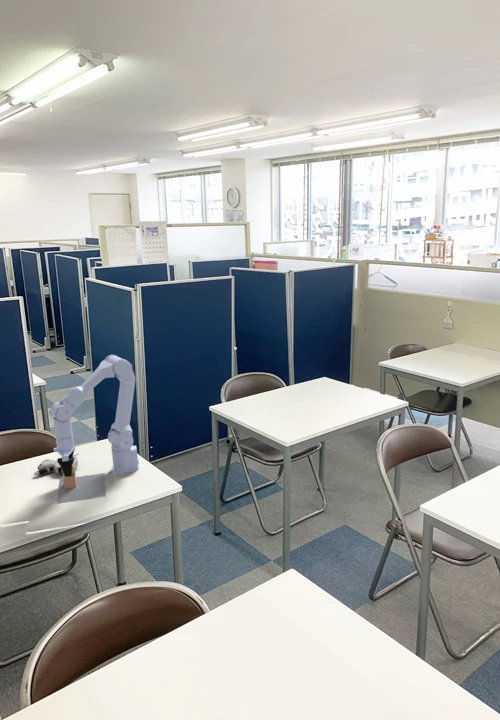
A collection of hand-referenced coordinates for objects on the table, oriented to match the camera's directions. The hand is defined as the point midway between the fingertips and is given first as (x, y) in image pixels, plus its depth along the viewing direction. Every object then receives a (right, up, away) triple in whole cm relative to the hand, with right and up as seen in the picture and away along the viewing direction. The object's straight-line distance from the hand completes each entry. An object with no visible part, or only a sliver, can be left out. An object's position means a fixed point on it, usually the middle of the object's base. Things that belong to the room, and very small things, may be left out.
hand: (68, 471), depth 195 cm
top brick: (0, -1, 0) cm, 2 cm away
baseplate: (+5, -6, 0) cm, 8 cm away
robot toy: (-9, -3, +14) cm, 17 cm away
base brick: (0, -5, +1) cm, 6 cm away
